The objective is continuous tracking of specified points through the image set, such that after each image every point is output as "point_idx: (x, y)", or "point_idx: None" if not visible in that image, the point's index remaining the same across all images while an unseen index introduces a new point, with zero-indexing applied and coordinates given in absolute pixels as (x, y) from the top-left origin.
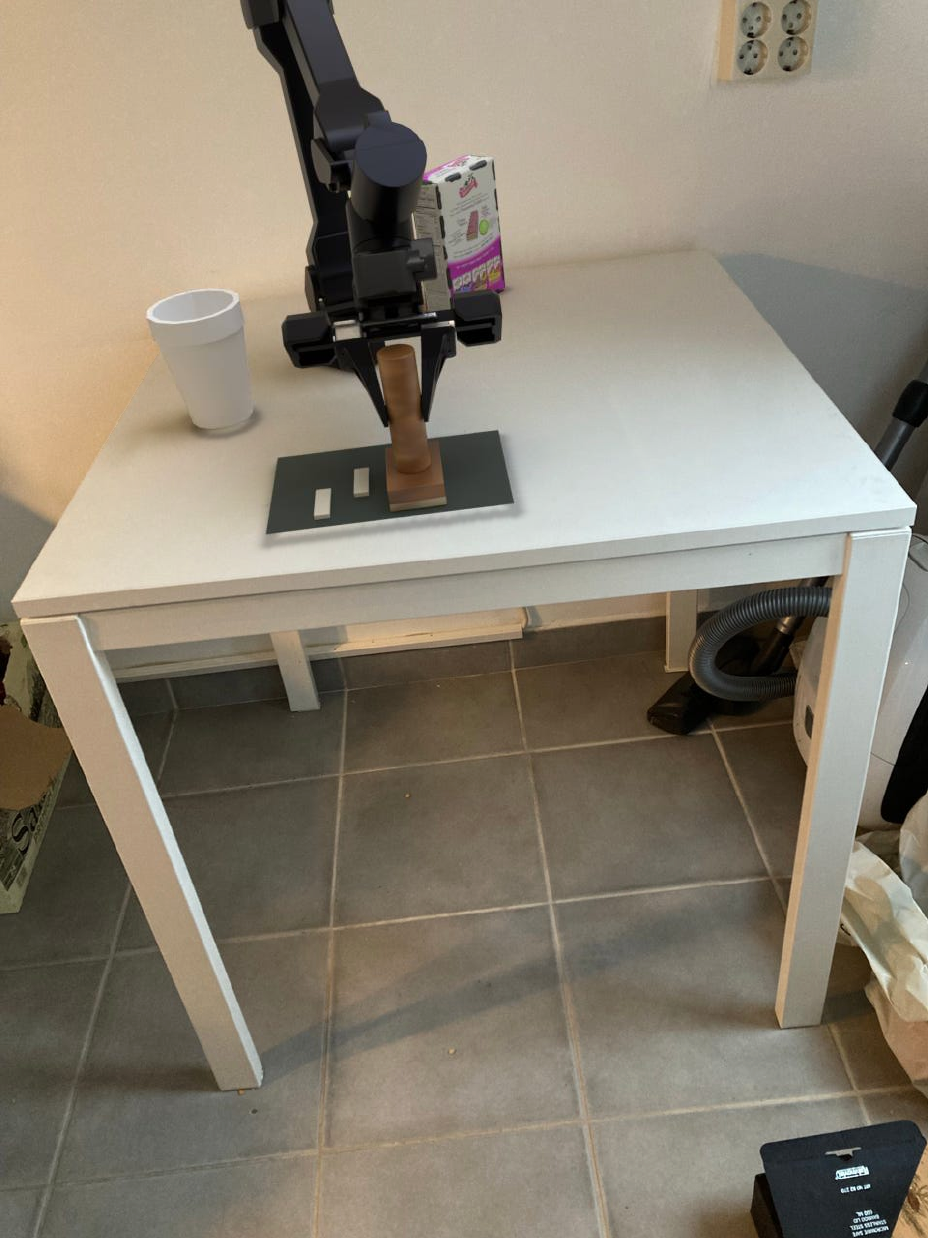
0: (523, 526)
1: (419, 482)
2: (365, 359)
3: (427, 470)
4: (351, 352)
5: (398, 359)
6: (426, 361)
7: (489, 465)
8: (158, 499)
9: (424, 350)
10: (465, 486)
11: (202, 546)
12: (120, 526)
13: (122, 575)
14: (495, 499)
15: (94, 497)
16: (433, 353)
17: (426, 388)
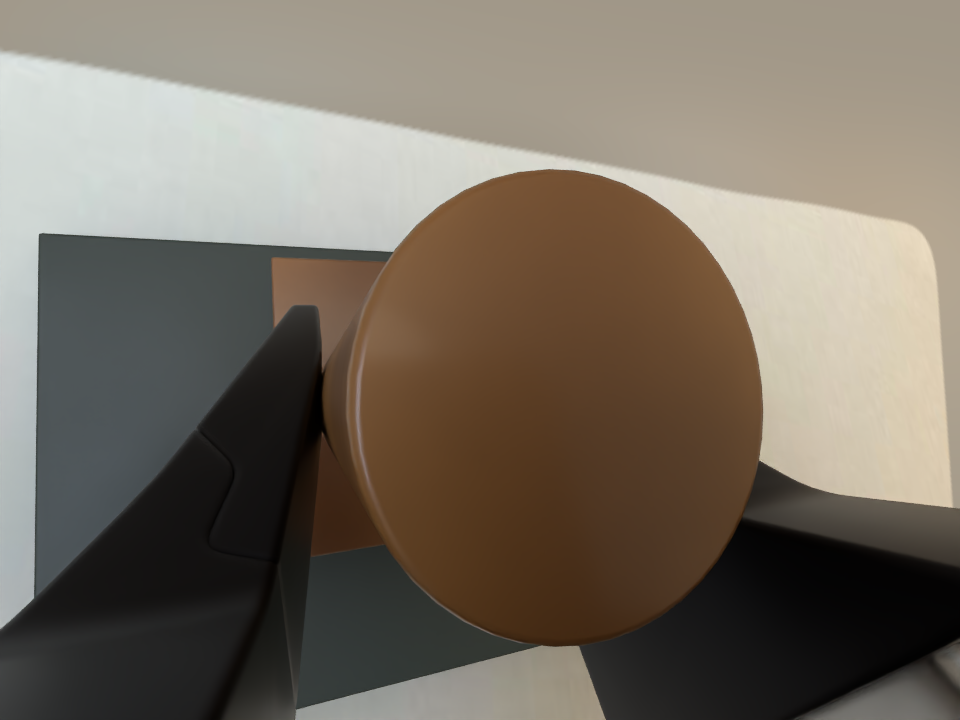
0: (38, 164)
1: (353, 283)
2: (773, 511)
3: (325, 351)
4: (929, 510)
5: (544, 171)
6: (224, 539)
7: (104, 491)
8: (859, 479)
9: (211, 623)
10: (208, 370)
11: (763, 296)
12: (885, 395)
13: (846, 243)
14: (108, 269)
15: (941, 501)
16: (95, 620)
17: (274, 383)
